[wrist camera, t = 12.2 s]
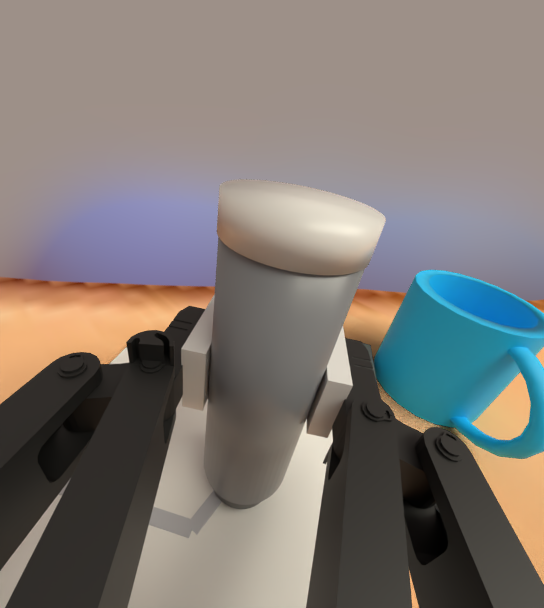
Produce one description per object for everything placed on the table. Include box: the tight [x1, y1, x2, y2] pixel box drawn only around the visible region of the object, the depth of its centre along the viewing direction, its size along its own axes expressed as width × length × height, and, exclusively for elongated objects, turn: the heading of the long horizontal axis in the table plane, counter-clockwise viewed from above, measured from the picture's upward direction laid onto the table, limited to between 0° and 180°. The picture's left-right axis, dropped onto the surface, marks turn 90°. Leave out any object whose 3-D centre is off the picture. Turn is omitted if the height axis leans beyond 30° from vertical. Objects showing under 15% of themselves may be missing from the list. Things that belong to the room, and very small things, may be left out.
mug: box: [374, 270, 544, 459], centre depth 19 cm, size 12×8×8 cm
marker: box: [204, 179, 386, 509], centre depth 10 cm, size 4×4×13 cm
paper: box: [0, 347, 333, 608], centre depth 13 cm, size 18×16×1 cm
